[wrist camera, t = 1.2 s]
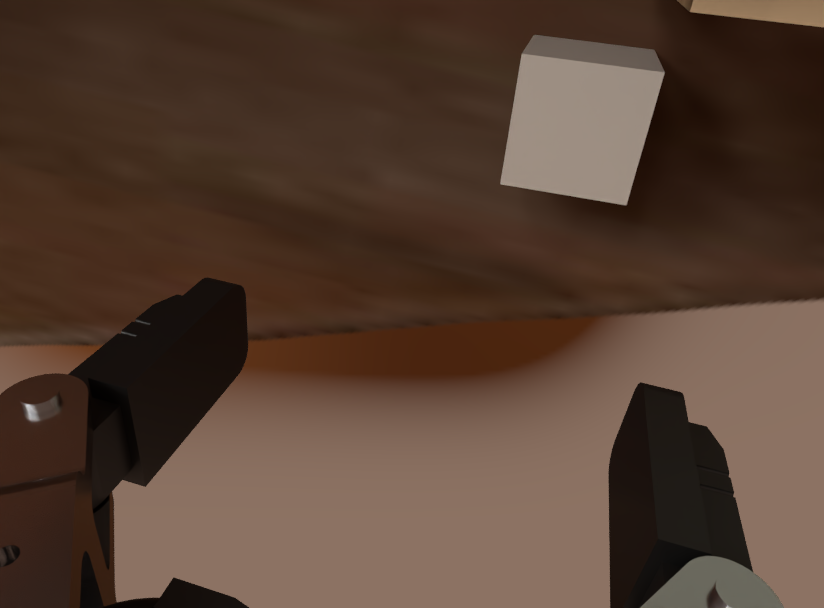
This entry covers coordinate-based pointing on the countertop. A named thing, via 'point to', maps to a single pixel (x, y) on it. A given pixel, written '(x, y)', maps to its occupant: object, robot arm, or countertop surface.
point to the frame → (763, 10)
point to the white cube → (581, 117)
